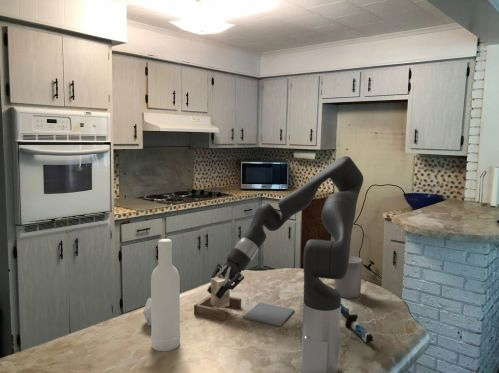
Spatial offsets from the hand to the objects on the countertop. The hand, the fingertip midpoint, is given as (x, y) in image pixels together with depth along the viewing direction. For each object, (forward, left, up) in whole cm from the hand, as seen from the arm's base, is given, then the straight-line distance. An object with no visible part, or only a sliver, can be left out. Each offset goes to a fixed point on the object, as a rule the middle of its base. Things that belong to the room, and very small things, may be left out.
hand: (213, 294), depth 138 cm
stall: (+2, -1, -6) cm, 7 cm away
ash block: (+2, -1, -4) cm, 5 cm away
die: (-15, +12, -6) cm, 20 cm away
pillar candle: (+38, -36, -6) cm, 53 cm away
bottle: (-25, +1, -6) cm, 26 cm away
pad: (+7, -17, -6) cm, 20 cm away
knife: (+13, -41, -6) cm, 44 cm away
